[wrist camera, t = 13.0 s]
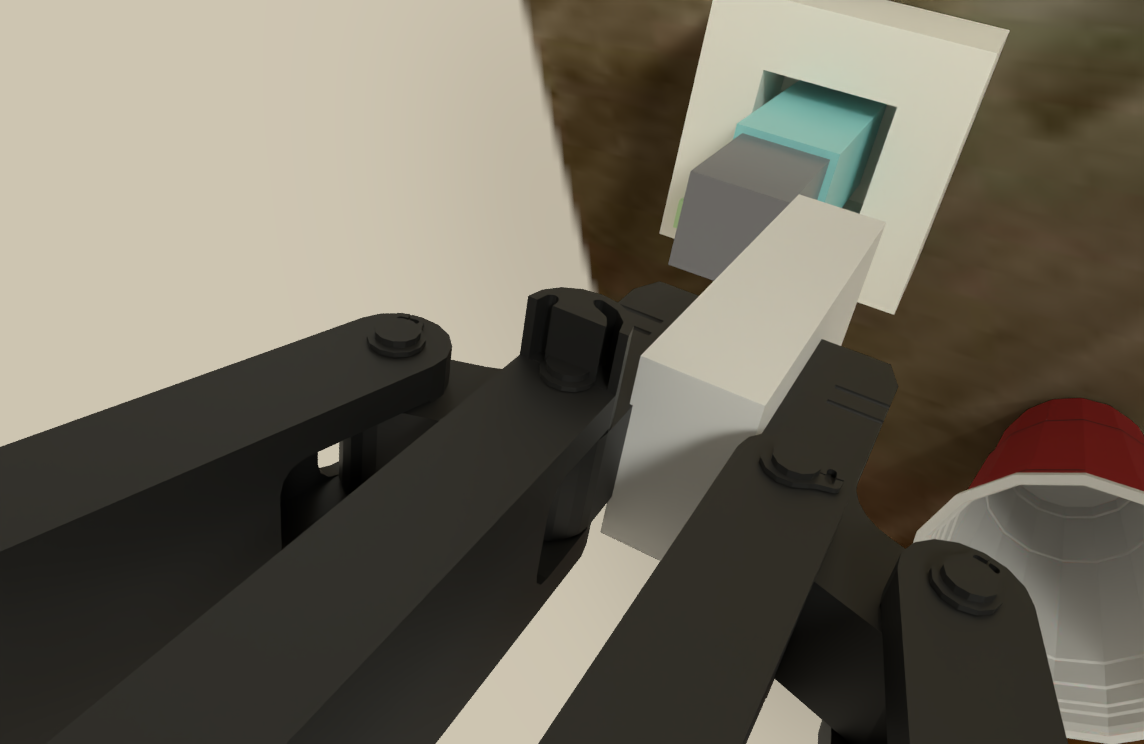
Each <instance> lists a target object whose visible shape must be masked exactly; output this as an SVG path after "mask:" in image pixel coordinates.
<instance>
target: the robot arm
mask: <svg viewBox="0 0 1144 744" xmlns="http://www.w3.org/2000/svg"><path fill="white" fill-rule="evenodd" d="M885 225H886V222H883V221H880V220H877V219H874V218H871V217H868V216H865V215H862V214H859V213H855V212H852V211H849V210H846V209H843V208H840V207H837V206H834V205H831V204H828V203H824V202H821V201H818V200H815V199H812V198H809V197H806V196H803V195H800V194H799V195H798V196H797V197H796V198H795V199H794V200H793V201H792V202H791V203H790V204H789V205H788V206H787V207H786V208H785V209H784V210H783V211H782V212H781V213H780V214H779V215H778V216H777V217H776V218H775V219H774V220H773V221H772V222H771V223H770V224H769V225H768V226H767V227H766V228H765V229H764V230H763V231H762V232H761V233H760V234H759V235H758V236H757V238H756V239H755V240H754V241H753V242H752V243H751V244H750V245H749V246H748V247H747V248H746V249H745V250H744V251H743V252H742V253H741V254H740V255H739V256H738V257H737V258H736V259H735V260H734V261H733V262H732V263H731V264H730V265H729V266H728V267H727V268H726V269H725V270H724V271H723V272H722V273H721V274H720V275H719V276H718V277H717V278H716V279H715V280H714V281H713V282H712V283H711V284H710V285H709V286H708V287H707V289H706V290H705V291H704V292H703V293H702V294H701V295H700V296H698V295H695V294H692V293H690V292H687V291H684V290H682V289H679V288H676V287H674V286H671V285H668V284H666V283H663V282H656V283H653V284H649V285H646V286H642V287H639V288H635V289H633V290H632V291H631V292H630V293H628V294H627V295H626V296H625V297H624V298H623V299H622V300H620V301H619V302H616V301H614V300H612V299H610V298H608V297H606V296H604V295H602V294H598V293H594V292H591V291H587V290H584V289H574V288H563V287H560V288H553V289H545V290H541V291H538V292H536V293H534V294H532V295H529V296H528V302H527V309H526V316H525V323H524V330H523V337H522V344H521V351H520V355H519V356H518V357H517V358H515V359H514V360H513V361H512V362H510V363H509V364H508V365H507V366H506V367H504V368H503V369H497V368H490V367H484V366H479V365H474V364H469V363H464V362H459V361H455V360H451V351H452V345H451V341H450V337H449V335H448V334H447V333H446V332H445V331H444V330H443V329H442V328H441V327H440V326H439V325H437V324H435V323H433V322H431V321H428V320H426V319H424V318H422V317H418V316H414V315H410V314H404V313H397V314H377V315H373V316H368V317H363V318H360V319H358V320H355V321H352V322H349V323H346V324H344V325H341V326H338V327H335V328H333V329H330V330H327V331H325V332H321V333H318V334H316V335H313V336H310V337H307V338H305V339H302V340H299V341H296V342H293V343H290V344H288V345H285V346H282V347H279V348H276V349H274V350H271V351H268V352H265V353H263V354H260V355H257V356H254V357H251V358H248V359H246V360H243V361H240V362H237V363H234V364H231V365H229V366H226V367H223V368H220V369H217V370H215V371H212V372H209V373H206V374H204V375H201V376H198V377H195V378H192V379H190V380H187V381H184V382H181V383H179V384H175V385H173V386H170V387H167V388H164V389H161V390H159V391H156V392H153V393H150V394H148V395H145V396H142V397H139V398H136V399H133V400H131V401H128V402H125V403H122V404H119V405H117V406H114V407H111V408H108V409H105V410H103V411H100V412H97V413H94V414H91V415H89V416H86V417H83V418H80V419H77V420H75V421H72V422H69V423H66V424H63V425H61V426H58V427H55V428H52V429H50V430H47V431H44V432H41V433H38V434H35V435H33V436H30V437H27V438H24V439H21V440H19V441H16V442H13V443H10V444H7V445H5V446H2V447H0V744H435V743H436V742H437V741H438V740H439V738H440V737H441V736H442V735H443V733H444V732H445V731H446V729H447V728H448V727H449V726H450V724H451V723H452V722H453V720H454V719H455V718H456V717H457V715H458V714H459V713H460V711H461V710H462V709H463V708H464V706H465V705H466V704H467V702H468V701H469V700H470V699H471V697H472V696H473V695H474V693H475V692H476V691H477V689H478V688H479V687H480V686H481V684H482V683H483V682H484V681H485V679H486V678H487V677H488V675H489V674H490V673H491V672H492V670H493V669H494V668H495V666H496V665H497V664H498V662H499V661H500V660H501V659H502V657H503V656H504V655H505V654H506V652H507V651H508V650H509V648H510V647H511V646H512V645H513V643H514V642H515V640H516V639H517V638H518V636H519V635H520V634H521V633H522V631H523V630H524V629H525V628H526V626H527V625H528V624H529V622H530V621H531V620H532V619H533V617H534V616H535V615H536V614H537V612H538V611H539V610H540V608H541V607H542V606H543V604H544V603H545V602H546V601H547V599H548V598H549V597H550V596H551V594H552V593H553V591H554V590H555V589H556V587H558V585H559V584H560V583H561V581H562V580H563V579H564V577H565V576H566V575H567V574H568V572H569V571H570V570H571V569H572V567H573V566H574V564H575V563H576V562H577V561H578V559H579V558H580V557H581V555H582V553H583V550H584V548H585V546H586V543H587V539H588V534H589V529H590V525H591V522H592V521H593V519H594V518H595V517H596V515H597V514H598V513H599V512H600V511H601V509H602V508H603V507H604V506H605V504H606V503H607V506H606V510H605V515H604V519H603V523H602V528H601V533H603V534H605V535H608V536H610V537H612V538H614V539H616V540H618V541H620V542H623V543H624V544H626V545H629V546H631V547H633V548H635V549H637V550H639V551H641V552H643V553H645V554H647V555H649V556H651V557H653V558H655V559H658V560H660V563H659V564H658V566H657V567H656V569H655V570H654V572H653V573H652V575H651V576H650V578H649V579H648V580H647V582H646V584H645V585H644V587H643V588H642V589H641V591H640V592H639V594H638V595H637V597H636V599H635V600H634V602H633V603H632V604H631V606H630V607H629V609H628V610H627V612H626V613H625V615H624V616H623V618H622V620H621V621H620V622H619V624H618V625H617V627H616V628H615V630H614V631H613V633H612V634H611V636H610V637H609V639H608V640H607V642H606V643H605V645H604V646H603V648H602V650H601V651H600V652H599V654H598V655H597V657H596V658H595V660H594V661H593V663H592V664H591V666H590V667H589V669H588V670H587V672H586V673H585V675H584V676H583V678H582V679H581V681H580V682H579V684H578V685H577V687H576V688H575V690H574V691H573V693H572V694H571V696H570V697H569V699H568V700H567V702H566V703H565V705H564V706H563V708H562V709H561V711H560V712H559V713H558V715H557V717H556V718H555V720H554V721H553V723H552V724H551V725H550V727H549V728H548V730H547V732H546V733H545V735H544V736H543V738H542V739H541V740H540V742H539V744H746V743H747V740H748V738H749V735H750V733H751V731H752V729H753V726H754V724H755V722H756V719H757V717H758V715H759V712H760V710H761V708H762V706H763V703H764V701H765V699H766V698H767V695H768V693H769V691H770V688H771V686H772V684H773V681H774V679H776V680H777V681H778V682H779V683H781V684H782V685H783V686H784V687H785V688H786V689H787V690H789V691H790V692H791V693H792V694H793V695H794V696H796V697H797V698H798V699H799V700H800V701H801V702H803V703H804V704H805V705H806V706H807V707H808V708H809V709H811V710H812V711H813V712H814V713H815V714H816V715H817V716H819V717H820V718H821V719H822V722H821V726H820V729H819V733H818V744H1068V742H1067V738H1066V734H1065V729H1064V725H1063V721H1062V717H1061V713H1060V709H1059V704H1058V700H1057V696H1056V692H1055V688H1054V684H1053V679H1052V675H1051V671H1050V667H1049V663H1048V658H1047V654H1046V650H1045V646H1044V642H1043V638H1042V633H1041V629H1040V625H1039V621H1038V617H1037V613H1036V608H1035V606H1034V603H1033V601H1032V599H1031V597H1030V595H1029V593H1028V591H1027V589H1026V587H1025V586H1024V585H1023V584H1022V583H1021V582H1020V581H1019V580H1018V579H1017V578H1016V577H1015V575H1014V574H1013V573H1012V572H1011V571H1010V570H1009V569H1008V568H1007V567H1005V566H1003V565H1002V564H1000V563H999V562H997V561H996V560H994V559H993V558H991V557H990V556H988V555H987V554H985V553H984V552H981V551H978V550H976V549H973V548H971V547H968V546H966V545H963V544H961V543H958V542H951V541H945V540H938V539H931V540H925V541H919V542H914V543H913V544H912V545H910V546H909V547H908V548H906V549H905V548H903V547H902V546H900V545H899V544H898V543H896V542H895V541H893V540H892V539H891V538H889V537H888V536H887V535H886V534H884V533H883V532H882V531H881V530H879V529H878V528H877V527H876V526H875V525H874V523H873V522H872V521H871V520H870V519H869V518H868V517H867V516H866V514H865V512H864V511H863V509H862V507H861V505H860V503H859V501H858V496H857V492H856V488H857V484H858V481H859V479H860V477H861V474H862V472H863V470H864V467H865V465H866V462H867V460H868V458H869V455H870V453H871V450H872V448H873V446H874V443H875V441H876V439H877V436H878V434H879V431H880V429H881V427H882V424H883V422H884V419H885V417H886V415H887V412H888V410H889V407H890V405H891V403H892V400H893V398H894V395H895V393H896V391H897V388H898V384H897V382H896V379H895V376H894V373H893V370H892V367H891V364H888V363H885V362H882V361H880V360H877V359H874V358H872V357H869V356H866V355H864V354H861V353H858V352H856V351H853V350H850V349H847V348H845V347H842V346H841V345H842V342H843V339H844V337H845V334H846V331H847V328H848V326H849V323H850V320H851V317H852V315H853V312H854V309H855V307H856V304H857V301H858V298H859V296H860V293H861V290H862V287H863V285H864V282H865V279H866V277H867V274H868V271H869V268H870V266H871V263H872V260H873V257H874V255H875V252H876V249H877V246H878V244H879V241H880V238H881V236H882V233H883V230H884V227H885ZM338 442H339V462H337V463H334V464H332V465H330V466H326V467H322V468H319V467H318V452H319V451H321V450H323V449H325V448H327V447H329V446H332V445H334V444H336V443H338Z"/></svg>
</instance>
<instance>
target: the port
mask: <svg viewBox="0 0 1144 744" xmlns="http://www.w3.org/2000/svg"><path fill="white" fill-rule="evenodd" d="M1009 31H1010V30H1007V29H1003V28H999V27H995V26H991V25H986V24H982V23H978V22H974V21H970V20H966V19H962V18H958V17H954V16H950V15H945V14H941V13H937V12H933V11H929V10H925V9H921V8H917V7H913V6H908V5H904V4H900V3H896V2H892V1H888V0H713V2H712V7H711V11H710V15H709V20H708V24H707V28H706V33H705V37H704V41H703V46H702V50H701V54H700V59H699V63H698V67H697V72H696V76H695V80H694V85H693V89H692V93H691V98H690V102H689V107H688V111H687V115H686V120H685V124H684V128H683V133H682V137H681V141H680V146H679V150H678V154H677V159H676V163H675V167H674V172H673V176H672V180H671V185H670V189H669V193H668V198H667V202H666V207H665V211H664V215H663V220H662V224H661V228H660V233H659V234H662V235H665V236H668V237H671V238H675V234H676V230H677V226H678V221H679V217H680V213H681V209H682V205H683V201H684V196H685V192H686V188H687V184H688V180H689V176H690V172H691V170H692V169H694V168H695V167H697V166H698V165H699V164H701V163H702V162H703V161H705V160H706V159H707V158H709V157H710V156H712V155H713V154H714V153H716V152H717V151H718V150H720V149H721V148H722V147H724V146H725V145H727V144H728V143H729V142H731V141H732V140H733V137H734V133H735V129H736V125H737V123H738V122H740V121H741V120H743V119H744V118H746V117H747V116H749V115H750V114H751V113H753V112H754V111H756V110H757V109H759V108H760V107H761V106H763V105H764V104H766V103H767V102H769V101H770V100H772V99H773V98H774V97H776V96H777V95H779V94H780V93H782V92H783V91H785V90H786V89H787V88H789V87H790V86H792V85H793V84H795V83H796V82H797V81H799V80H802V81H805V82H809V83H812V84H816V85H820V86H823V87H827V88H830V89H834V90H838V91H841V92H845V93H848V94H852V95H856V96H859V97H863V98H866V99H870V100H874V101H877V102H881V103H884V104H887V106H886V109H885V112H884V115H883V118H882V121H881V124H880V127H879V130H878V132H877V135H876V138H875V141H874V144H873V147H872V150H871V153H870V156H869V158H868V161H867V164H866V167H865V170H864V173H863V176H862V179H861V182H860V184H859V186H858V187H857V188H856V190H855V191H854V192H853V194H852V195H851V196H850V198H849V199H848V200H847V202H846V203H845V204H844V206H843V207H842V208H843V209H846V210H849V211H852V212H855V213H859V214H862V215H865V216H868V217H871V218H874V219H877V220H880V221H883V222H886V225H885V227H884V230H883V233H882V236H881V238H880V241H879V244H878V246H877V249H876V252H875V255H874V257H873V260H872V263H871V266H870V268H869V271H868V274H867V277H866V279H865V282H864V285H863V287H862V290H861V293H860V296H859V298H858V301H857V302H858V303H861V304H864V305H867V306H870V307H873V308H876V309H879V310H882V311H884V312H887V313H890V314H893V315H894V314H895V311H896V309H897V307H898V305H899V302H900V300H901V298H902V296H903V293H904V291H905V289H906V286H907V284H908V282H909V280H910V277H911V275H912V273H913V271H914V268H915V266H916V264H917V261H918V259H919V256H920V254H921V251H922V249H923V246H924V244H925V241H926V239H927V236H928V234H929V231H930V229H931V226H932V224H933V221H934V219H935V216H936V214H937V211H938V209H939V206H940V204H941V201H942V199H943V196H944V194H945V191H946V189H947V186H948V184H949V181H950V179H951V176H952V174H953V171H954V169H955V166H956V164H957V161H958V159H959V156H960V154H961V151H962V149H963V146H964V144H965V141H966V139H967V136H968V134H969V131H970V129H971V126H972V124H973V121H974V119H975V116H976V114H977V111H978V109H979V106H980V104H981V101H982V99H983V96H984V94H985V91H986V89H987V86H988V84H989V81H990V79H991V76H992V74H993V71H994V69H995V66H996V64H997V61H998V59H999V56H1000V54H1001V51H1002V49H1003V46H1004V44H1005V41H1006V39H1007V36H1008V34H1009Z"/></svg>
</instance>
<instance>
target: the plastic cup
mask: <svg viewBox="0 0 1144 744" xmlns="http://www.w3.org/2000/svg"><path fill="white" fill-rule="evenodd" d="M931 539H938V540H945V541H951V542H958V543H961V544H963V545H966V546H968V547H971V548H973V549H976V550H978V551H981V552H984V553H985V554H987V555H988V556H990V557H991V558H993V559H994V560H996V561H997V562H999V563H1000V564H1002V565H1003V566H1005V567H1007V568H1008V569H1009V570H1010V571H1011V572H1012V573H1013V574H1014V575H1015V577H1016V578H1017V579H1018V580H1019V581H1020V582H1021V583H1022V584H1023V585H1024V586H1025V587H1026V589H1027V591H1028V593H1029V595H1030V597H1031V599H1032V601H1033V603H1034V606H1035V608H1036V613H1037V617H1038V621H1039V625H1040V629H1041V633H1042V638H1043V642H1044V646H1045V650H1046V654H1047V658H1048V663H1049V667H1050V671H1051V675H1052V679H1053V684H1054V688H1055V692H1056V696H1057V700H1058V704H1059V709H1060V713H1061V717H1062V721H1063V725H1064V729H1065V734H1066V738H1072V739H1079V740H1086V741H1093V742H1100V743H1107V744H1118V743H1124V742H1131V741H1137V740H1144V435H1143V433H1142V432H1141V430H1140V429H1139V427H1138V426H1137V425H1136V424H1135V423H1133V421H1132V420H1130V419H1129V418H1127V417H1126V416H1124V415H1123V414H1122V413H1120V412H1119V411H1117V410H1116V409H1114V408H1113V407H1111V406H1110V405H1106V404H1103V403H1099V402H1095V401H1091V400H1088V399H1084V398H1069V399H1052V400H1050V401H1047V402H1045V403H1042V404H1040V405H1037V406H1035V407H1032V408H1029V409H1028V410H1026V411H1025V412H1024V413H1023V414H1022V415H1021V416H1020V417H1019V418H1018V419H1017V420H1015V421H1014V422H1013V423H1012V424H1011V425H1010V426H1009V427H1008V428H1007V429H1006V430H1005V432H1004V433H1003V435H1002V437H1001V439H1000V441H999V443H998V445H997V446H996V448H995V449H994V450H993V451H992V452H991V453H990V454H989V456H988V457H987V459H986V461H985V462H984V464H983V465H982V467H981V469H980V470H979V472H978V474H977V475H976V477H975V478H974V480H973V482H972V483H971V485H970V487H969V488H968V490H965V491H962V492H960V493H958V494H957V495H955V496H954V497H953V498H952V499H951V500H950V501H949V502H948V503H947V504H946V505H944V506H943V507H942V508H941V509H940V510H939V511H938V512H937V513H936V514H935V515H934V516H933V517H932V518H931V519H929V520H928V521H927V522H926V523H925V524H924V525H923V526H922V527H921V528H920V529H919V530H918V531H917V533H916V536H915V539H914V542H919V541H925V540H931ZM914 542H913V543H914Z"/></svg>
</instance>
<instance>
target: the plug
mask: <svg viewBox="0 0 1144 744" xmlns="http://www.w3.org/2000/svg"><path fill="white" fill-rule="evenodd" d="M886 106H887V104H884V103H881V102H877V101H874V100H870V99H866V98H863V97H859V96H856V95H852V94H848V93H845V92H841V91H838V90H834V89H830V88H827V87H823V86H820V85H816V84H812V83H809V82H805V81H802V80H799V81H797V82H796V83H795V84H793V85H792V86H790V87H789V88H787V89H786V90H785V91H783V92H782V93H780V94H779V95H777V96H776V97H774V98H773V99H772V100H770V101H769V102H767V103H766V104H764V105H763V106H761V107H760V108H759V109H757V110H756V111H754V112H753V113H751V114H750V115H749V116H747V117H746V118H744V119H743V120H741V121H740V122H738V123H737V125H736V129H735V133H734V137H733V140H732V141H731V142H729V143H728V144H727V145H725V146H724V147H722V148H721V149H720V150H718V151H717V152H716V153H714V154H713V155H712V156H710V157H709V158H707V159H706V160H705V161H703V162H702V163H701V164H699V165H698V166H697V167H695V168H694V169H692V170H691V172H690V176H689V180H688V184H687V188H686V192H685V196H684V201H683V205H682V209H681V213H680V217H679V221H678V226H677V230H676V234H675V238H674V242H673V246H672V251H671V255H670V259H669V263H668V265H671V266H674V267H677V268H679V269H682V270H685V271H688V272H691V273H693V274H696V275H699V276H702V277H705V278H708V279H710V280H713V281H714V280H715V279H716V278H717V277H718V276H719V275H720V274H721V273H722V272H723V271H724V270H725V269H726V268H727V267H728V266H729V265H730V264H731V263H732V262H733V261H734V260H735V259H736V258H737V257H738V256H739V255H740V254H741V253H742V252H743V251H744V250H745V249H746V248H747V247H748V246H749V245H750V244H751V243H752V242H753V241H754V240H755V239H756V238H757V236H758V235H759V234H760V233H761V232H762V231H763V230H764V229H765V228H766V227H767V226H768V225H769V224H770V223H771V222H772V221H773V220H774V219H775V218H776V217H777V216H778V215H779V214H780V213H781V212H782V211H783V210H784V209H785V208H786V207H787V206H788V205H789V204H790V203H791V202H792V201H793V200H794V199H795V198H796V197H797V196H798V195H799V194H800V195H803V196H806V197H809V198H812V199H815V200H818V201H821V202H824V203H828V204H831V205H834V206H837V207H840V208H842V207H843V206H844V204H845V203H846V202H847V200H848V199H849V198H850V196H851V195H852V194H853V192H854V191H855V190H856V188H857V187H858V186H859V184H860V182H861V179H862V176H863V173H864V170H865V167H866V164H867V161H868V158H869V156H870V153H871V150H872V147H873V144H874V141H875V138H876V135H877V132H878V130H879V127H880V124H881V121H882V118H883V115H884V112H885V109H886Z"/></svg>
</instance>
